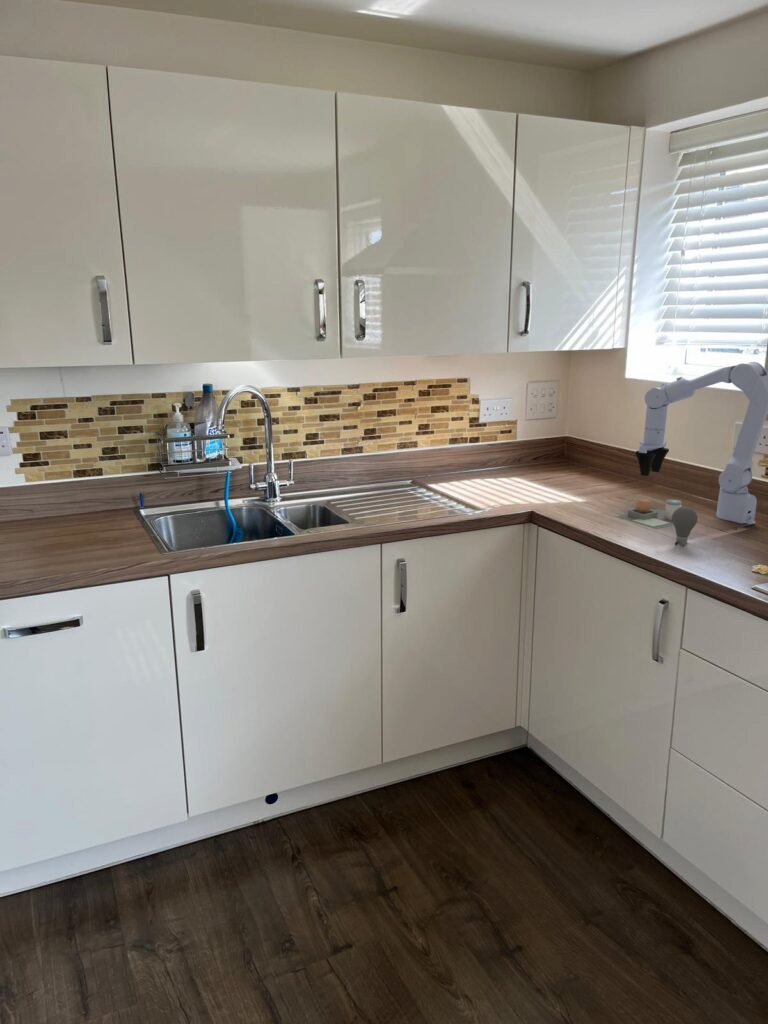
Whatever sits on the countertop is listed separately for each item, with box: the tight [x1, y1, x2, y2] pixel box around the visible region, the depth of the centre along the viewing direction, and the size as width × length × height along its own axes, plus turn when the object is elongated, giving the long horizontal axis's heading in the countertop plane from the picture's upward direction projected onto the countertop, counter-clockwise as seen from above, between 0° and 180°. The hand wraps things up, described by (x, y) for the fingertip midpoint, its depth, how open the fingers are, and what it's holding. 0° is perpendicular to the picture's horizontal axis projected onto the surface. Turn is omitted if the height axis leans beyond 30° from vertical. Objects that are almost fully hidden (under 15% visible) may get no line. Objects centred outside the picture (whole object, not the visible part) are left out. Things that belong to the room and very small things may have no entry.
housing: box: [615, 508, 674, 530], centre depth 213 cm, size 14×17×3 cm
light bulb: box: [671, 506, 698, 546], centre depth 192 cm, size 6×6×10 cm
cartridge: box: [664, 499, 682, 521], centre depth 213 cm, size 4×4×6 cm
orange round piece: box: [635, 498, 652, 513], centre depth 213 cm, size 4×4×3 cm
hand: (650, 473), depth 228 cm, fingers open, 7 cm apart
